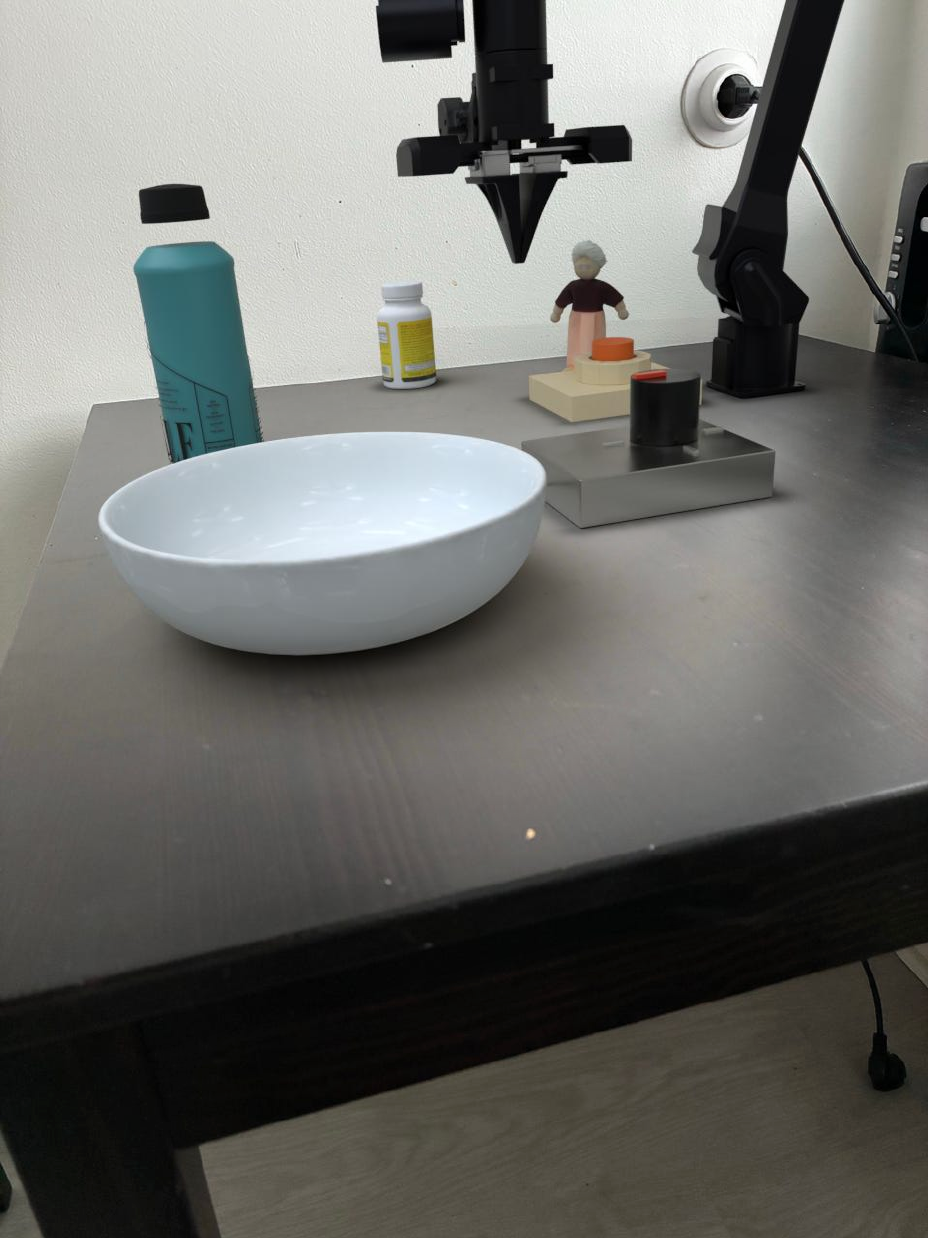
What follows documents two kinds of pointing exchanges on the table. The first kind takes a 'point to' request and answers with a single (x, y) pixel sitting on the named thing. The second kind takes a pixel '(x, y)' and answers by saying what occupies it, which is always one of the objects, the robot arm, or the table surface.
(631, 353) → the power button
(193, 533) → the serving bowl
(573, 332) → the grandmother figurine
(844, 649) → the table surface
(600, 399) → the coffee base
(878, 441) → the table surface
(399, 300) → the supplement bottle
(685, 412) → the brew dial
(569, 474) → the dial panel
